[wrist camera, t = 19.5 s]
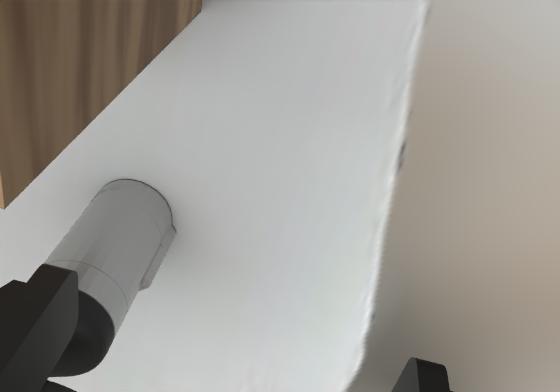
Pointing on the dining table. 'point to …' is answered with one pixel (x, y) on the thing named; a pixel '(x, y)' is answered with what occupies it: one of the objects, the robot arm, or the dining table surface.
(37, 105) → the plinth
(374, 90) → the dining table surface
